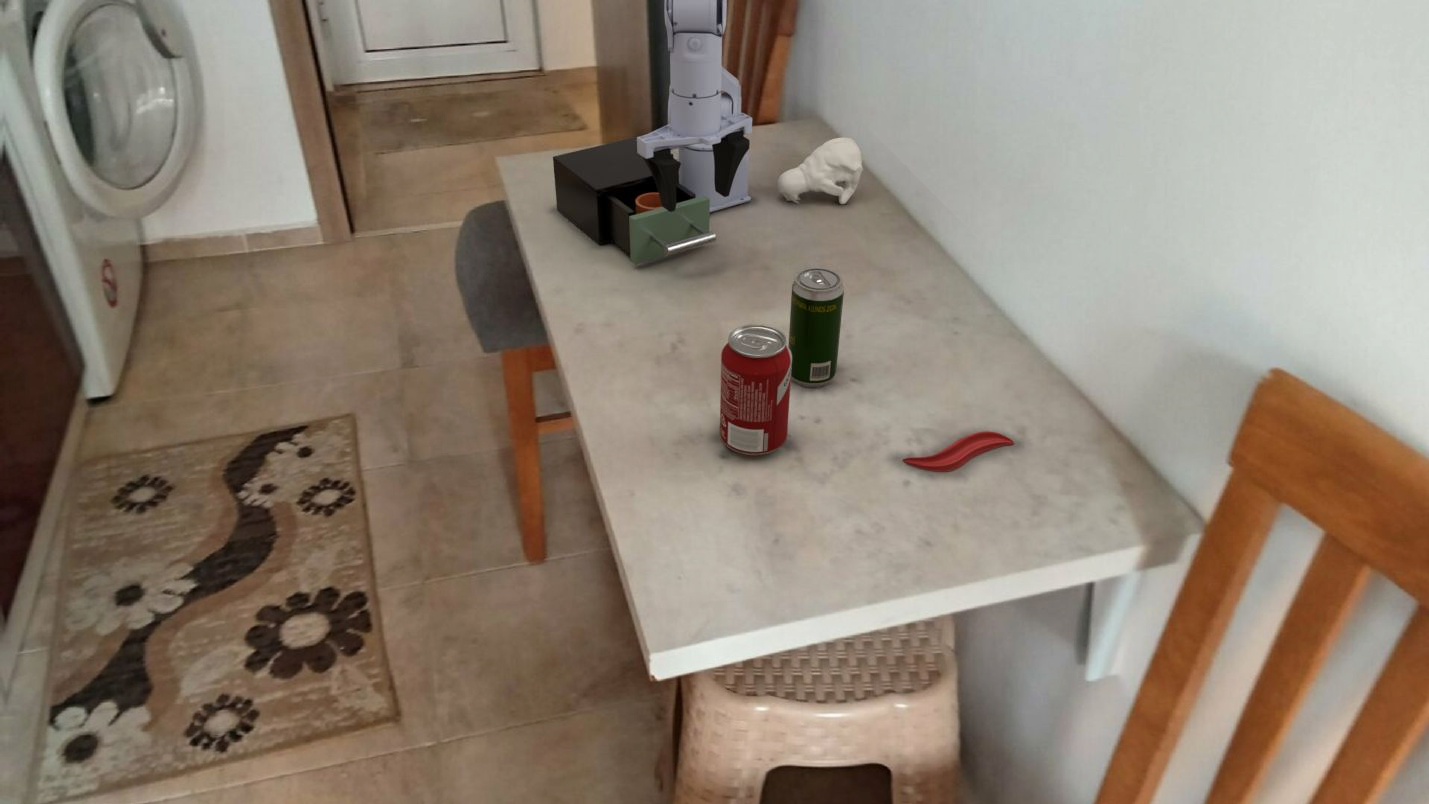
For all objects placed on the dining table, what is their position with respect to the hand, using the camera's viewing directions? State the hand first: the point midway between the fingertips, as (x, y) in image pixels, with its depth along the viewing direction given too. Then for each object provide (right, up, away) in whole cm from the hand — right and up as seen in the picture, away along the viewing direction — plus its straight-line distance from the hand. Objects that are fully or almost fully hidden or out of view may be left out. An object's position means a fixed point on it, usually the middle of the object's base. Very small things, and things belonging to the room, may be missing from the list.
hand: (695, 200), depth 129 cm
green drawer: (-5, -3, +12) cm, 13 cm away
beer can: (+13, -21, -11) cm, 27 cm away
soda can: (+6, -28, -20) cm, 35 cm away
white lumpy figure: (+17, +5, +25) cm, 31 cm away
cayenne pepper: (+27, -30, -22) cm, 45 cm away
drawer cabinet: (-11, +1, +20) cm, 23 cm away
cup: (-6, -2, +12) cm, 13 cm away
